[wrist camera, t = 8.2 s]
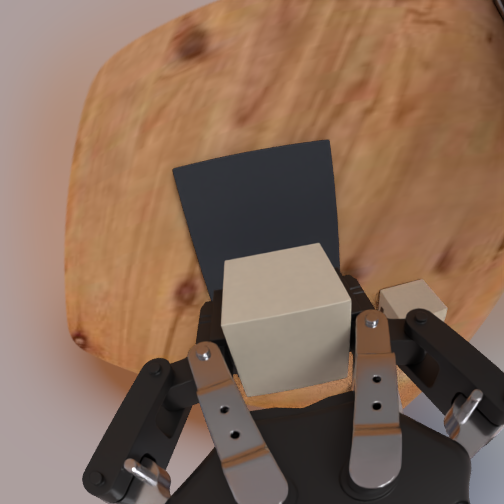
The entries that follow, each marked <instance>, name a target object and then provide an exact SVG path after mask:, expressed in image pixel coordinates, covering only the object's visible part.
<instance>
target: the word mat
mask: <svg viewBox="0 0 504 504" xmlns="http://www.w3.org/2000/svg"><path fill="white" fill-rule="evenodd" d="M173 174H174V178H175V182H176V185H177V189H178V193H179V196H180V200H181V204H182V207H183V211H184V214H185V218H186V221H187V224H188V228H189V231H190V235H191V238H192V241H193V245H194V248H195V251H196V254H197V258H198V261H199V264H200V267H201V270H202V274H203V277H204V280H205V283H206V286H207V289H208V292H209V295H210V298H211V301H213V295H214V290H220V289H223V279H224V263H225V261H226V260H232V259H237V258H242V257H248V256H253V255H258V254H263V253H268V252H274V251H279V250H284V249H289V248H295V247H300V246H305V245H310V244H315V243H320V245H321V247H322V248H323V250H324V252H325V254H326V255H327V257H328V259H329V260H330V262H331V264H332V266H333V268H335V267H338V269H339V270H340V258H339V237H338V221H337V207H336V195H335V184H334V174H333V165H332V156H331V148H330V141H329V140H320V141H312V142H304V143H297V144H291V145H284V146H278V147H272V148H266V149H260V150H255V151H250V152H244V153H239V154H234V155H229V156H225V157H220V158H215V159H211V160H206V161H202V162H198V163H194V164H189V165H185V166H181V167H177V168H174V169H173ZM238 377H239V374H238ZM239 378H240V377H239Z"/></svg>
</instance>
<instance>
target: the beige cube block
mask: <svg viewBox="0 0 504 504" xmlns="http://www.w3.org/2000/svg"><path fill="white" fill-rule="evenodd" d="M416 308H422V309H426V310H428V311H430V312H432V313H433V314H434V315H435V316H437V317H438V318H439V319H440V320H442V321H443V322H444V320H445V316H446V313H447V309H448V308H447V307H446V306H445V305H444V303H443V302H442V301H441V300H440V299H439V297H438V296H437V295H436V294H435V293H434V292H433V290H432V289H431V288H430V287H429V286H428V285H427V284H426V282H425V281H424V280H423V279H420V280H416V281H413V282H409V283H406V284H402V285H398V286H394V287H390V288H387V289H383V290H380V299H379V309H378V311H381V312H382V313H384V314H385V315H386V317H387V318H390V319H405V318H406V315H407V313H408V312H409V311H410V310H413V309H416Z"/></svg>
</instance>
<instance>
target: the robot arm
mask: <svg viewBox="0 0 504 504" xmlns="http://www.w3.org/2000/svg"><path fill="white" fill-rule="evenodd" d="M494 2H495V4H496V6H497V8H498V10H499V12H500V13H501V15H502V17H503V19H504V0H494ZM334 269H335V271H336V273H337V275H338V276H339V278H340V280H341V282H342V284H343V285H344V287H345V289H346V291H347V293H348V295H349V296H350V298H351V329H350V348H349V352H352V354H353V367H352V388H351V391H350V392H346V393H342V394H338V395H334V396H330V397H327V398H325V399H323V400H321V401H319V402H316V403H314V404H312V405H310V406H307V407H305V408H269V409H262V410H255V411H250V412H249V410H248V408H247V406H246V404H245V402H244V400H243V398H242V396H241V394H240V391H239V389H238V387H237V385H236V383H235V381H234V379H233V374H238V372H237V369H236V366H235V364H234V361H233V358H232V355H231V353H230V350H229V347H228V344H227V341H226V339H225V336H224V333H223V330H222V327H221V315H222V296H223V289H220V290H214V295H213V301H209V302H205V304H204V305H203V306H202V308H201V310H200V318H199V324H198V331H197V339H196V345H194V346H193V347H192V348H191V349H190V350H189V352H188V355H187V357H186V358H184V359H182V360H180V361H177V362H174V363H172V364H170V363H169V361H168V360H166V359H163V358H156V359H152V360H150V361H149V362H147V363H146V364H145V365H144V366H143V368H142V369H141V371H140V373H139V374H138V376H137V378H136V380H135V381H134V383H133V385H132V386H131V388H130V390H129V392H128V393H127V395H126V397H125V399H124V401H123V402H122V404H121V406H120V407H119V409H118V411H117V413H116V414H115V416H114V418H113V420H112V422H111V424H110V425H109V427H108V429H107V431H106V433H105V434H104V436H103V438H102V440H101V441H100V443H99V445H98V447H97V449H96V451H95V453H94V454H93V456H92V458H91V460H90V462H89V464H88V466H87V467H86V469H85V472H84V474H83V478H82V481H83V485H84V487H85V489H86V490H87V491H88V492H89V493H91V494H92V495H94V496H96V497H98V498H100V499H101V500H103V501H104V502H106V503H108V504H470V501H469V481H470V474H471V460H470V459H471V458H472V457H473V456H474V455H475V454H476V453H477V452H478V451H479V450H480V449H481V448H482V447H483V446H485V445H487V444H488V443H489V442H490V441H491V440H492V439H493V438H494V437H495V436H496V435H497V434H498V433H499V432H500V431H501V430H502V429H503V428H504V373H503V372H502V371H501V370H500V369H499V368H498V367H497V366H496V365H495V364H493V363H492V362H491V361H490V360H489V359H488V358H487V357H485V356H484V355H483V354H482V353H481V352H480V351H478V350H477V349H476V348H475V347H474V346H472V345H471V344H470V343H469V342H468V341H466V340H465V339H464V338H463V337H462V336H460V335H459V334H458V333H457V332H455V331H454V330H453V329H452V328H450V327H449V326H448V325H447V324H445V323H444V322H443V321H442V320H440V319H439V318H438V317H437V316H435V315H434V314H433V313H432V312H430V311H428V310H426V309H422V308H416V309H413V310H410V311H409V312H408V313H407V315H406V318H405V319H390V318H387V317H386V315H385V314H384V313H382V312H381V311H378V310H375V308H374V307H373V305H372V303H371V302H370V300H369V299H368V297H367V295H366V294H365V292H364V291H363V289H362V287H361V286H360V284H359V283H358V281H357V279H355V278H353V277H352V276H350V275H346V276H342V274H341V272H340V270H339V269H338V267H335V268H334ZM396 365H398V367H399V368H400V369H401V370H402V371H403V372H404V373H405V374H406V375H407V376H408V377H409V378H410V379H411V380H412V381H413V382H414V383H415V385H416V386H417V387H418V388H419V389H420V390H421V391H422V392H423V393H424V394H425V395H426V396H427V397H428V398H429V399H430V400H431V401H432V403H433V404H434V405H435V406H436V407H437V408H438V409H439V410H440V411H441V412H442V413H443V414H444V415H445V418H444V426H445V429H446V432H447V434H448V435H449V437H450V438H449V437H446V436H445V435H442V434H441V433H439V432H436V431H435V430H433V429H431V428H429V427H427V426H425V425H423V424H421V423H419V422H417V421H415V420H413V419H412V418H410V417H408V416H406V415H404V414H402V413H401V412H399V399H398V382H397V370H396ZM197 403H200V406H201V409H202V412H203V415H204V417H205V421H206V423H207V426H208V429H209V432H210V434H211V437H212V440H213V443H214V445H215V447H214V449H213V450H212V451H211V452H210V453H209V455H208V456H207V457H206V458H205V459H204V460H203V461H202V463H201V464H200V465H199V466H198V467H197V468H196V469H195V471H194V472H193V473H192V474H191V475H190V476H189V477H188V478H187V479H186V481H185V482H184V483H183V484H182V485H181V486H180V487H179V488H178V489H177V491H175V492H174V494H173V495H172V496H171V495H170V484H171V479H170V476H169V474H168V473H167V471H165V470H166V468H167V466H168V463H169V461H170V458H171V456H172V454H173V451H174V449H175V446H176V444H177V442H178V439H179V437H180V434H181V432H182V429H183V427H184V424H185V422H186V420H187V417H188V415H189V413H190V410H191V408H192V405H194V404H197Z"/></svg>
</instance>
